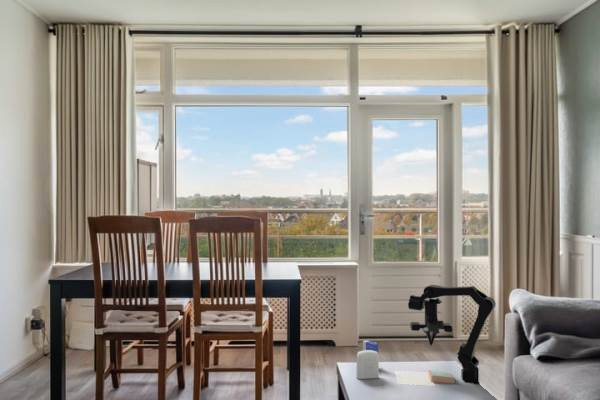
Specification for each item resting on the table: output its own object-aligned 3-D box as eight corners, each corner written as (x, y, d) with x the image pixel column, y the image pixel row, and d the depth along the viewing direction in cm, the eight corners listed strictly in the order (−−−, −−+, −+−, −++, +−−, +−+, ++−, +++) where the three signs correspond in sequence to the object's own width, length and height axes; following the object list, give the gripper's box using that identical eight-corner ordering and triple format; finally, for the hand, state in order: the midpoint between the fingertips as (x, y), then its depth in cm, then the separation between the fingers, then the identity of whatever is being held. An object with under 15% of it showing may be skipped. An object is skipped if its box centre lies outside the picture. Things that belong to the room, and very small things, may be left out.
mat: (429, 373, 208) (429, 372, 208) (435, 387, 192) (435, 385, 192) (394, 371, 210) (394, 370, 210) (398, 385, 194) (398, 383, 194)
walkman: (378, 367, 215) (378, 343, 215) (374, 369, 213) (374, 344, 214) (366, 363, 221) (366, 339, 222) (362, 364, 219) (362, 340, 220)
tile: (428, 375, 204) (450, 378, 203) (431, 381, 197) (454, 384, 196) (428, 369, 204) (450, 372, 203) (431, 375, 197) (454, 377, 196)
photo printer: (377, 375, 205) (377, 348, 206) (379, 378, 201) (380, 351, 201) (355, 376, 204) (355, 349, 204) (357, 379, 200) (358, 352, 200)
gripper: (413, 315, 203) (413, 349, 202) (455, 316, 201) (455, 351, 200) (410, 309, 214) (409, 342, 214) (449, 311, 212) (449, 344, 211)
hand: (430, 345), depth 209 cm, fingers closed
